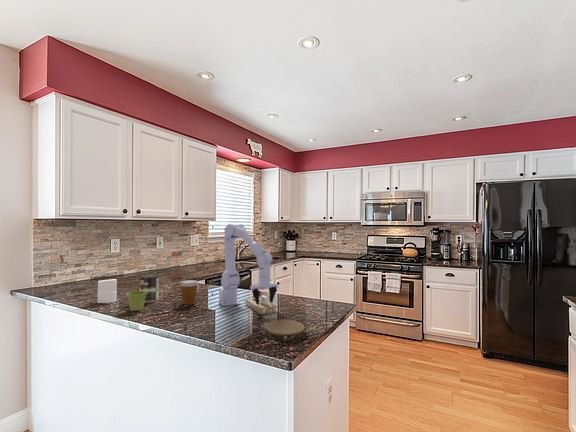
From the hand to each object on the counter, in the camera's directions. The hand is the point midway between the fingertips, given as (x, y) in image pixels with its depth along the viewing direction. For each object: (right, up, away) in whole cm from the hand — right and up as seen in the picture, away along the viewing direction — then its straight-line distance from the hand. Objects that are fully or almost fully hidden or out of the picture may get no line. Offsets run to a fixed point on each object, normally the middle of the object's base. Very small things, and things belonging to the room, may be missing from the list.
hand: (264, 303), depth 152 cm
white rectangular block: (-90, -4, +16) cm, 92 cm away
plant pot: (-65, -4, 0) cm, 65 cm away
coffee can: (-68, -4, +19) cm, 71 cm away
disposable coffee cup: (-43, -4, +14) cm, 45 cm away
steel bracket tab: (0, -4, 0) cm, 4 cm away
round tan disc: (+11, -3, -32) cm, 34 cm away
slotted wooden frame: (-2, -4, +4) cm, 6 cm away
